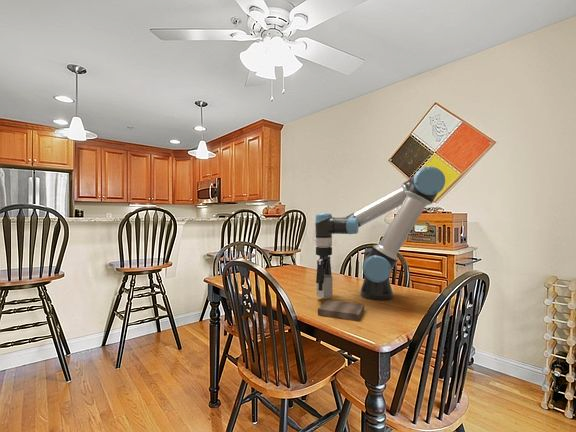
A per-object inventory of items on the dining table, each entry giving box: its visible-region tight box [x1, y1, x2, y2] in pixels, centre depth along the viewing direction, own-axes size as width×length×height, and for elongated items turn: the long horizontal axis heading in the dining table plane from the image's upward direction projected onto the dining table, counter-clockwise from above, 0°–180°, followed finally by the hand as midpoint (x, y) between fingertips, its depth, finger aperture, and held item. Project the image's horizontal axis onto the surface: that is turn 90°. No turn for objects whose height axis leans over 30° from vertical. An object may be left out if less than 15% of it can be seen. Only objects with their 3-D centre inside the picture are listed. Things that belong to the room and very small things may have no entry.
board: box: [317, 299, 365, 322], centre depth 122 cm, size 16×13×2 cm
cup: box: [316, 274, 334, 299], centre depth 140 cm, size 7×10×9 cm
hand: (324, 294), depth 140 cm, fingers closed on cup, 10 cm apart
